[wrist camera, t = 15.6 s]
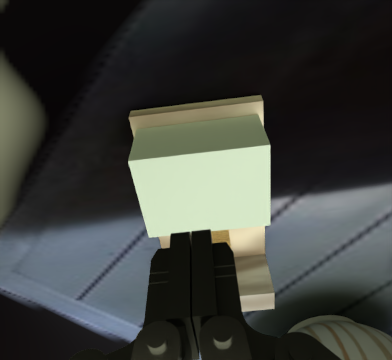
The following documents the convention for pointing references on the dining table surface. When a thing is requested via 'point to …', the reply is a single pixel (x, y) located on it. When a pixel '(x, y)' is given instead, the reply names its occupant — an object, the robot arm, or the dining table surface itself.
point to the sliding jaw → (202, 175)
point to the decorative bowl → (347, 337)
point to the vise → (239, 238)
